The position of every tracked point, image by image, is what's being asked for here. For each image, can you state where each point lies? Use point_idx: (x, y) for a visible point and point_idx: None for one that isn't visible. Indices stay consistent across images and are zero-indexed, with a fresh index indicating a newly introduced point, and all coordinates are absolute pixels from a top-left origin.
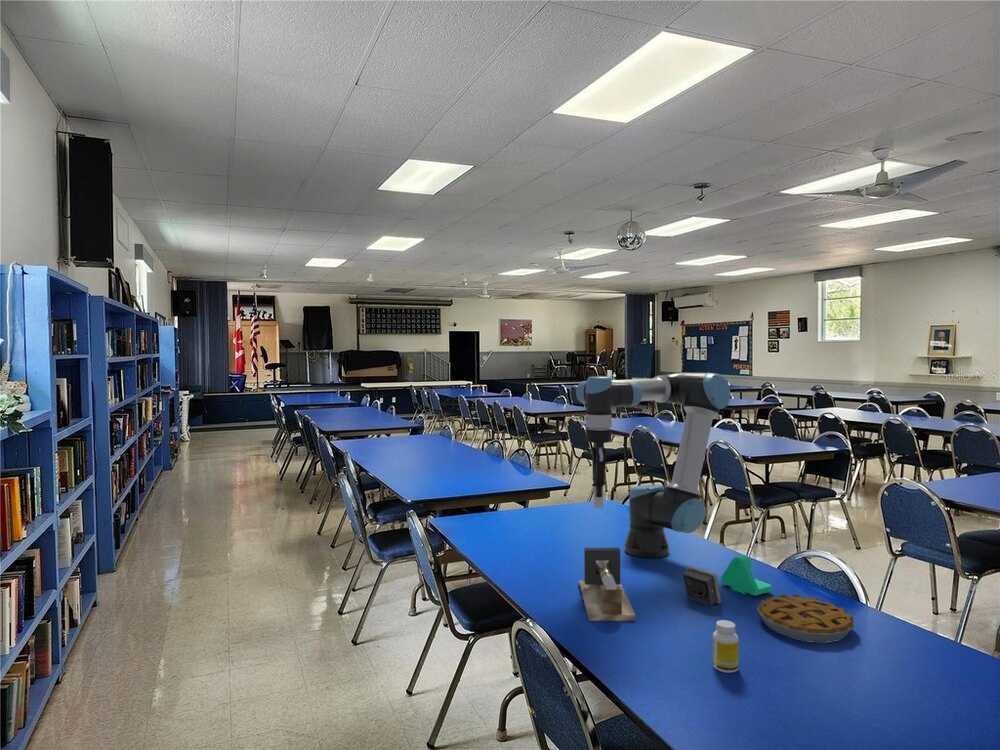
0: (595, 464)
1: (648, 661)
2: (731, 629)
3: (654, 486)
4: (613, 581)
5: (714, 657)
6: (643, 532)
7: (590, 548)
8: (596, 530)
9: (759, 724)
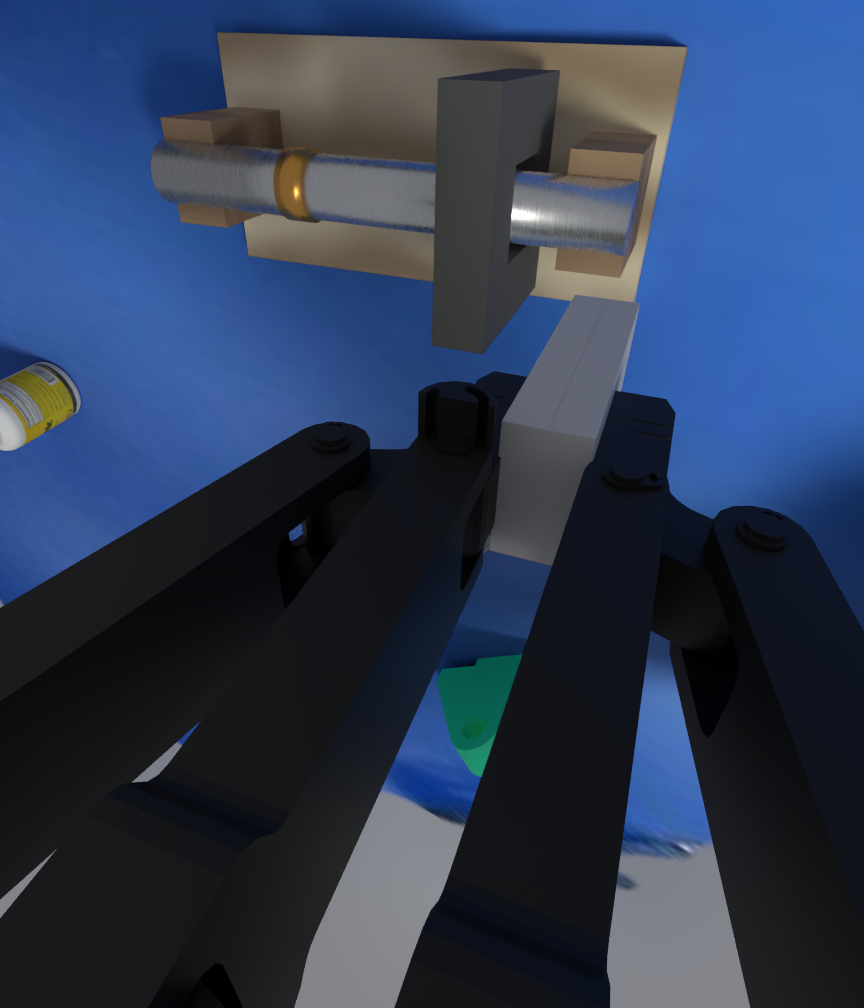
0: (167, 765)
1: (16, 198)
2: None
3: None
4: (192, 194)
5: (20, 371)
6: None
7: (479, 136)
8: None
9: None
